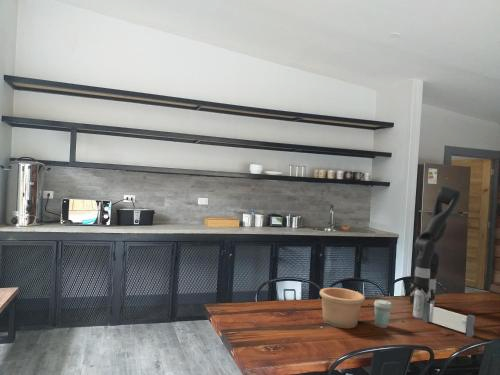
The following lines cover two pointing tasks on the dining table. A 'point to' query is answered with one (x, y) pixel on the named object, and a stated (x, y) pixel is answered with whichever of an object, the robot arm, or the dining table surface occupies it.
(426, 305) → the gate frame
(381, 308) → the coffee cup
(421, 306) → the energy drink can
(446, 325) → the gate leaf
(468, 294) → the dining table surface
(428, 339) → the dining table surface
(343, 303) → the pottery
